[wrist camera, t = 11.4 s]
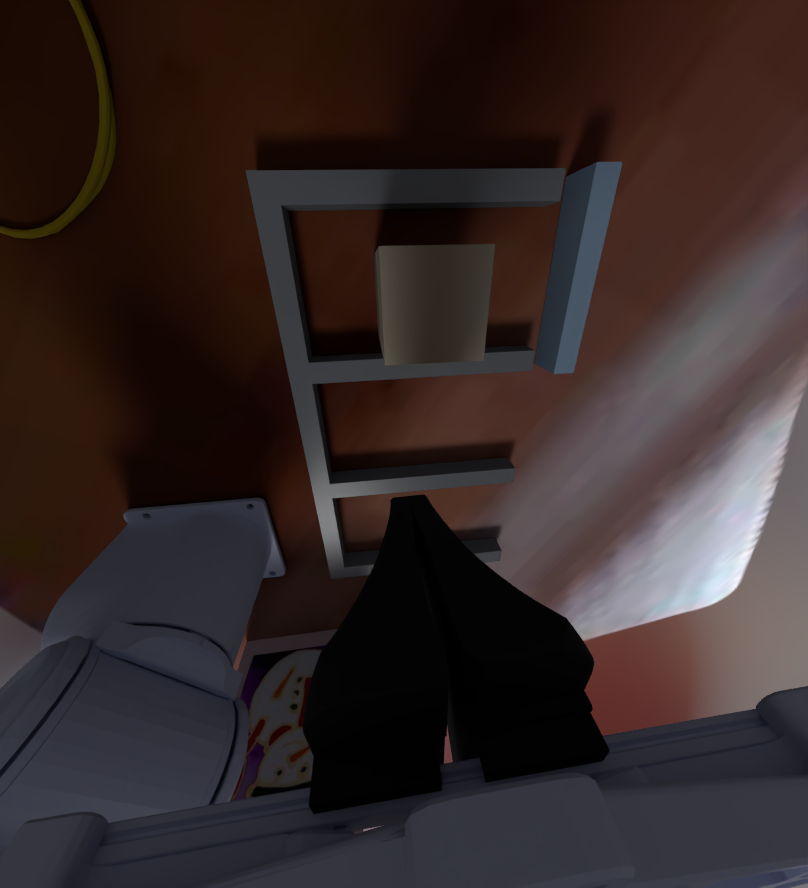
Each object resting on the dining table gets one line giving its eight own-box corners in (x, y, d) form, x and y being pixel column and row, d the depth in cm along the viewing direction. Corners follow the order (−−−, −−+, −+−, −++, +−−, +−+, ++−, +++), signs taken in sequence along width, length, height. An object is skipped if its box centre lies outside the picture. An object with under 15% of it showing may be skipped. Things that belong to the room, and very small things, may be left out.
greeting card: (362, 619, 31) (361, 871, 18) (370, 660, 35) (374, 895, 22) (244, 636, 30) (152, 912, 17) (265, 676, 34) (202, 929, 21)
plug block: (378, 334, 19) (384, 365, 12) (373, 255, 17) (378, 246, 11) (445, 332, 19) (483, 360, 13) (448, 254, 17) (495, 244, 11)
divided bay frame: (332, 564, 27) (330, 589, 25) (256, 179, 15) (238, 163, 13) (516, 544, 28) (528, 566, 26) (588, 176, 16) (622, 161, 14)
